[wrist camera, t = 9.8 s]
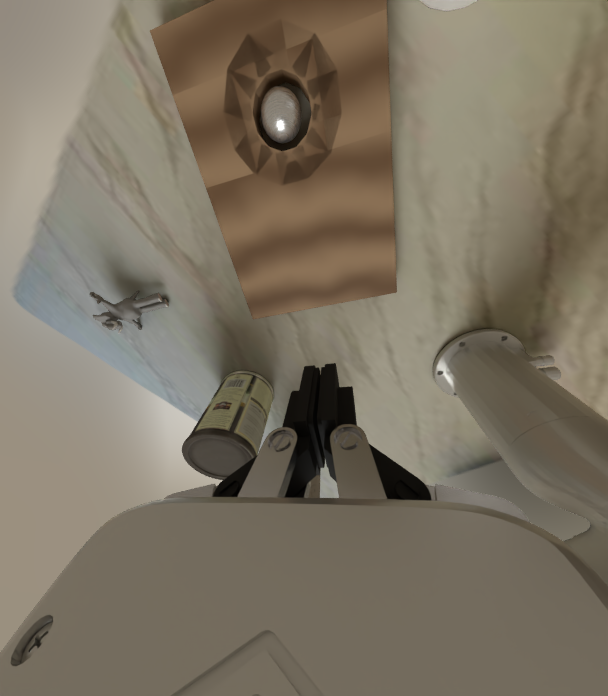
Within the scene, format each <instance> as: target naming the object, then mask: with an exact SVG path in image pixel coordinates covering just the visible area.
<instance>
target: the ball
mask: <svg viewBox="0 0 608 696" xmlns="http://www.w3.org/2000/svg"><path fill="white" fill-rule="evenodd" d="M301 119H302V114H301V107H300V104H299V101H298V99H297V97H296V96H295V94H294V93H293V92H292V91H291V90H290V89H288V88H286V87H284V86H276V87H273V88H272V89H270V90H269V91H268V92H267V93H266V95H265V97H264V99H263V102H262V105H261V120H262V124H263V127H264V129H265V131H266V133H267V134H268V136H269V137H270V138H271V139H272V140H274V141H276V142H278V143H287V142H289V141H291V140H292V139H294V137H295V136H296V135H297V133H298V131H299V129H300V126H301Z"/></svg>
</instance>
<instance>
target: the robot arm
mask: <svg viewBox="0 0 608 696" xmlns="http://www.w3.org/2000/svg"><path fill="white" fill-rule="evenodd" d="M552 364H554V358H553V357H552V356H550V355H546V356H539V357H534V358H533V357H531V356H529V355H528V354H526V353H525V350H524V347H523V345H522V343H521V342H520V341H519V340H518V339H517V338H516V337H514V336H513V335H511V334H510V333H507V332H505V331H502V330H497V329H481V330H475V331H472V332H469V333H466V334H464V335H462V336H459V337H458V338H456V339H454V340H453V341H451V342H450V343H449V344H448V345H446V346H445V347H444V348H443V349H442V351H441V352H440V353H439V355H438V356H437V358H436V360H435V362H434V365H433V377H434V379H435V382H436V383H437V385H438V386H439V388H440V389H441V390H442V391H443V392H445V393H447V394H448V395H451V396H454V397H458V398H460V400H461V401H462V402H463V404H464V405H465V407H466V408H467V409H468V411H469V412H470V414H471V415H472V416H473V418H474V419H475V421H476V422H477V423H478V425H479V426H480V428H481V429H482V430H483V432H484V433H485V434H486V436H487V437H488V439H489V440H490V441H491V443H492V444H493V446H494V447H495V448H496V450H497V451H498V453H499V454H500V455H501V457H502V458H503V460H504V461H505V462H506V464H507V465H508V466H509V468H510V469H511V470H512V472H513V473H514V475H515V476H516V477H517V478H518V479H519V481H520V482H521V483H522V484H523V485H524V486H525V487H526V488H527V489H529V490H530V491H531V492H533V493H534V494H535V495H537V496H538V497H540V498H541V499H543V500H545V501H547V502H549V503H551V504H553V505H555V506H557V507H559V508H562V509H564V510H566V511H569V512H571V513H574V514H577V515H579V516H581V517H584V518H586V519H587V520H588V521H589V522H590V528H589V529H588V530H587V531H585V532H583V533H580V534H578V535H575V536H574V537H573V538H571V539H568V540H565V541H562V540H560V539H559V538H558V537H556V536H554V535H553V534H550V533H549V532H547V531H546V530H544V529H542V528H540V527H538V526H536V525H534V524H531V523H530V521H529V520H528V518H527V516H526V515H525V514H524V513H523V512H522V511H521V510H520V509H519V508H518V507H517V506H516V505H514V504H513V503H511V502H509V501H508V500H505V499H502V498H499V497H495V496H491V495H486V494H481V493H477V492H472V491H467V490H462V489H458V488H453V487H448V486H443V485H438V484H435V487H434V486H429V485H425V484H424V483H423V482H422V481H421V480H420V479H418V478H417V477H416V476H414V475H413V474H411V473H410V472H408V471H407V470H406V469H404V468H403V467H401V466H400V465H398V464H397V463H396V462H394V461H393V460H391V459H390V458H388V457H387V456H386V455H384V454H383V453H381V452H380V451H378V450H377V449H376V448H374V447H373V446H371V445H370V444H369V443H368V440H367V437H366V434H365V433H364V431H363V430H362V429H361V428H360V427H358V426H357V423H356V413H355V404H354V396H353V388H352V387H339V382H338V375H337V369H336V364H335V363H334V364H325V367H322V368H321V375H320V370H319V368H315V365H314V366H305V367H304V371H303V375H302V380H301V385H300V390H299V391H292V393H291V396H290V400H289V404H288V407H287V411H286V415H285V419H284V423H283V427H281V428H278V429H275V430H274V431H272V432H271V433H270V434H269V435H268V436H267V437H266V439H265V441H264V443H263V445H262V447H261V449H260V451H259V453H258V455H257V456H255V457H254V458H253V459H251V460H250V461H248V462H247V463H246V464H244V465H243V466H242V467H240V468H239V469H238V470H236V471H235V472H234V473H232V474H231V475H230V476H228V477H227V478H225V479H224V480H223V481H222V482H221V483H220V484H219V485H218V486H216V485H215V484H211V485H207V486H203V487H199V488H194V489H190V490H186V491H182V492H178V493H174V494H171V495H169V496H167V497H166V498H164V499H163V500H156V501H152V502H148V503H144V504H141V505H139V506H136V507H134V508H131V509H128V510H126V511H124V512H122V513H120V514H118V515H117V516H115V517H113V518H112V519H110V520H109V521H108V522H106V523H105V524H104V525H103V526H102V527H101V528H100V529H99V530H98V531H97V532H96V533H95V534H94V535H93V536H92V537H91V538H90V539H89V540H88V541H87V542H86V544H85V545H84V546H83V547H82V548H81V549H80V551H79V552H78V553H77V554H76V555H75V557H74V558H73V559H72V560H71V562H70V563H69V564H68V565H67V566H66V568H65V569H64V570H63V571H62V573H61V574H60V575H59V576H58V578H57V579H56V580H55V582H54V583H53V584H52V585H51V587H50V588H49V589H48V591H47V592H46V593H45V595H44V596H43V597H42V598H41V600H40V601H39V602H38V604H37V605H36V606H35V607H34V609H33V610H32V611H31V613H30V614H29V615H28V616H27V618H26V619H25V620H24V622H23V623H22V625H21V626H20V627H19V628H18V630H17V631H16V633H15V634H14V635H13V637H12V638H11V639H10V640H9V642H8V643H7V645H6V646H5V647H4V648H3V650H2V651H1V652H0V696H608V420H606V419H605V418H603V417H602V416H601V415H599V414H598V413H597V412H595V411H594V410H593V409H591V408H590V407H589V406H587V405H586V404H584V403H583V402H582V401H580V400H579V399H578V398H576V397H575V396H574V395H572V394H571V393H570V392H568V391H567V390H565V389H564V388H563V387H561V386H560V385H559V384H557V383H556V382H555V381H553V380H558V379H560V377H561V372H560V370H559V369H558V368H556V367H547V368H539V369H537V368H536V366H545V365H552ZM325 459H326V464H327V467H328V468H329V473H330V476H331V477H332V478H333V479H334V480H335V481H336V482H337V487H338V493H339V498H308V496H309V492H310V487H311V482H310V481H311V480H312V479H313V478H314V477H315V476H316V475H320V468H324V465H325Z"/></svg>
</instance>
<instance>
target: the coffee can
mask: <svg viewBox="0 0 608 696" xmlns="http://www.w3.org/2000/svg"><path fill="white" fill-rule="evenodd" d="M273 399H274V392H273V388H272V386H271V385H270V383H269V382H268V381H267V380H266V379H265V378H263V377H262V376H260V375H259V374H256V373H254V372H250V371H236V372H232V373H230V374H228V375H227V376H226V377H225V378H224V379H223V381H222V383H221V385H220V387H219V388H218V390H217V392H216V393H215V395H214V397H213V398H212V400H211V402H210V403H209V405H208V407H207V408H206V410H205V411H204V413H203V415H202V416H201V418H200V420H199V421H198V423H197V425H196V426H195V428H194V430H193V431H192V433H191V435H190V436H189V437H188V438H187V439H186V440H185V442H184V444H183V446H182V453H183V456H184V459H185V460H186V461H187V463H188V464H189V465H190V466H191V467H192V468H194V469H195V470H196V471H198V472H200V473H201V474H204V475H206V476H208V477H212V478H215V479H220V480H224V479H225V478H227V477H228V476H230V475H231V474H232V473H234V472H235V471H236V470H238V469H239V468H240V467H242V466H243V465H244V464H246V463H247V462H248V461H250V460H251V459H253V458H254V457H255V456H257V454H258V451H259V447H260V444H261V440H262V437H263V433H264V429H265V426H266V422H267V419H268V415H269V411H270V408H271V404H272V402H273Z"/></svg>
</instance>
